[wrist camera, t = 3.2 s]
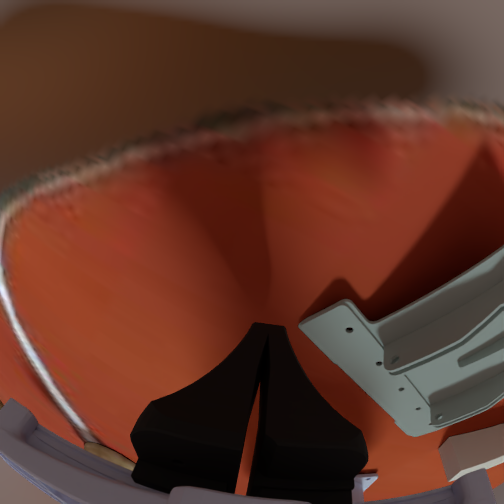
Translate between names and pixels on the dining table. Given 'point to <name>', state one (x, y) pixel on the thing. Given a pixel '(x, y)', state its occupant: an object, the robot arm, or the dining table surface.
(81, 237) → the dining table surface
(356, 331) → the metal bracket
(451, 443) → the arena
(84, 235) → the dining table surface
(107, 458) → the hand bell
